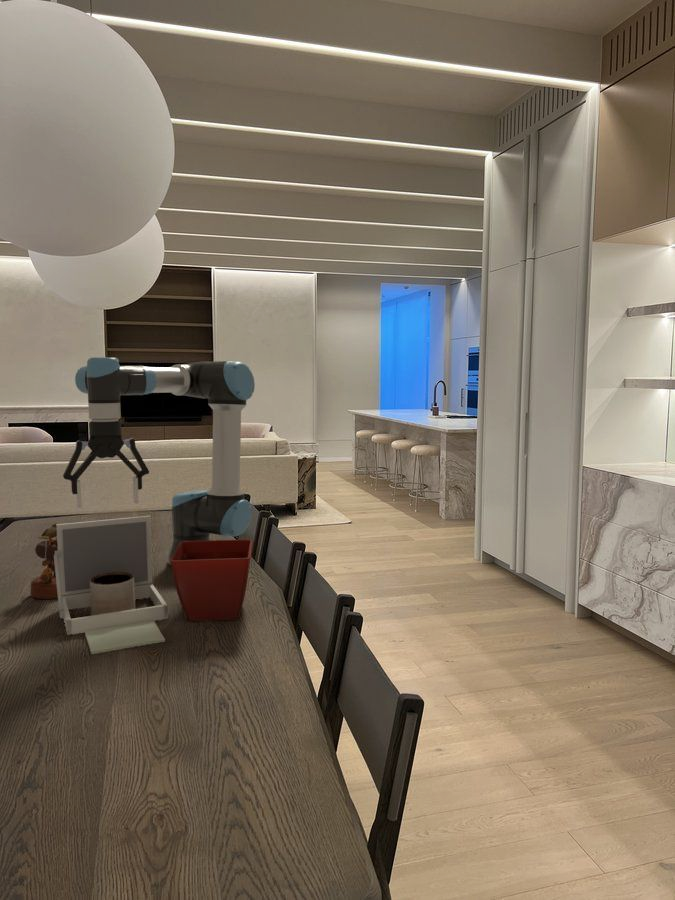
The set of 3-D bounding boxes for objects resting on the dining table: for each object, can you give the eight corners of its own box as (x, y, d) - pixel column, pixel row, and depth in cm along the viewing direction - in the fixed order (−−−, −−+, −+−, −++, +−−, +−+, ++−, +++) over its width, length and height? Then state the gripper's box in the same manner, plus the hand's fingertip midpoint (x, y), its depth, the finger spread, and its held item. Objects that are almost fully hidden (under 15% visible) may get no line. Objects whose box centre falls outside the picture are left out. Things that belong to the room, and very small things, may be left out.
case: (152, 595, 188) (149, 515, 185) (168, 618, 170) (165, 531, 168) (56, 608, 177) (51, 524, 175) (62, 635, 159) (57, 542, 157)
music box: (69, 600, 184) (66, 528, 181) (25, 603, 181) (21, 530, 179) (77, 583, 198) (74, 516, 196) (37, 586, 196) (33, 518, 194)
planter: (97, 607, 178) (95, 572, 177) (139, 606, 179) (138, 571, 178) (85, 623, 168) (83, 585, 167) (130, 621, 169) (129, 584, 167)
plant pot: (182, 601, 184) (180, 540, 182) (253, 598, 185) (252, 538, 183) (171, 627, 165) (169, 560, 163) (250, 625, 166) (249, 558, 164)
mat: (153, 622, 168) (153, 620, 168) (164, 641, 156) (164, 639, 156) (84, 633, 161) (84, 631, 161) (91, 654, 149) (91, 651, 149)
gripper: (153, 417, 176) (155, 498, 179) (49, 420, 166) (53, 506, 168) (159, 419, 170) (161, 503, 172) (51, 422, 159) (55, 511, 161)
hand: (108, 504), depth 170 cm, fingers open, 13 cm apart
